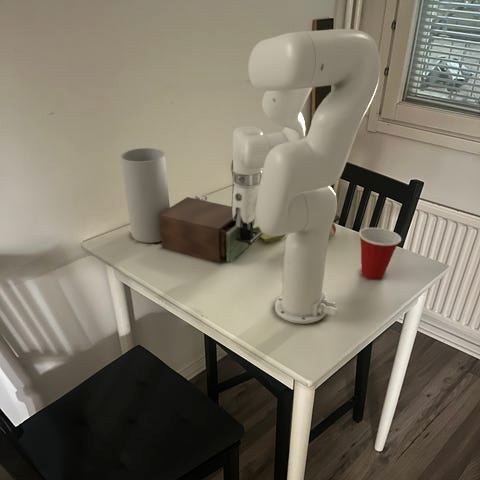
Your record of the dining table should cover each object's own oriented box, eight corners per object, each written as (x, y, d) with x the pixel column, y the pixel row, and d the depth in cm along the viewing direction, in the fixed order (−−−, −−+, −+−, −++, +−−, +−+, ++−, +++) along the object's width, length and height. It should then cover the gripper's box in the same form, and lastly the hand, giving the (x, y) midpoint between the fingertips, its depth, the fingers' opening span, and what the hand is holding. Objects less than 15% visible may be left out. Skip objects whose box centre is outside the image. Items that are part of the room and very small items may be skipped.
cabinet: (243, 242, 149) (243, 209, 142) (219, 263, 138) (218, 228, 132) (189, 229, 156) (187, 196, 150) (162, 248, 146) (158, 214, 140)
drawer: (267, 246, 145) (268, 218, 139) (245, 266, 135) (245, 237, 130) (200, 229, 154) (198, 203, 149) (175, 247, 144) (173, 219, 139)
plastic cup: (401, 275, 133) (410, 235, 126) (377, 289, 127) (385, 248, 120) (368, 260, 140) (375, 221, 132) (344, 273, 134) (350, 233, 127)
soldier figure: (195, 223, 162) (182, 200, 168) (204, 228, 166) (191, 206, 172) (212, 207, 160) (198, 184, 166) (220, 213, 164) (207, 190, 170)
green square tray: (264, 245, 147) (264, 239, 146) (249, 234, 153) (249, 228, 152) (288, 238, 151) (288, 232, 149) (272, 228, 157) (272, 222, 155)
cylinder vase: (180, 234, 153) (173, 154, 139) (148, 248, 146) (138, 165, 131) (155, 222, 160) (146, 145, 146) (124, 235, 153) (111, 155, 138)
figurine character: (306, 256, 144) (341, 236, 151) (306, 234, 140) (342, 214, 146) (291, 248, 149) (325, 229, 155) (290, 226, 144) (325, 207, 150)
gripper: (246, 189, 121) (246, 254, 132) (272, 170, 132) (270, 232, 143) (220, 183, 124) (222, 248, 135) (248, 166, 135) (247, 227, 145)
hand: (246, 239), depth 139 cm, fingers closed
